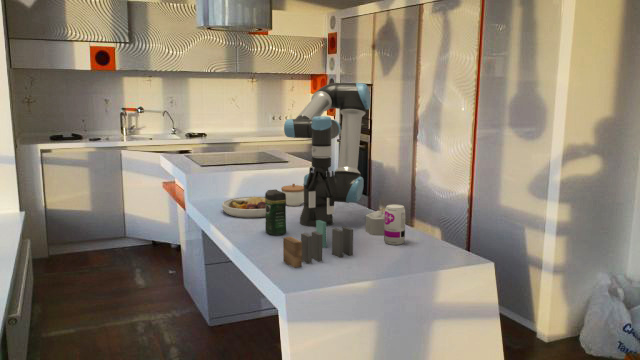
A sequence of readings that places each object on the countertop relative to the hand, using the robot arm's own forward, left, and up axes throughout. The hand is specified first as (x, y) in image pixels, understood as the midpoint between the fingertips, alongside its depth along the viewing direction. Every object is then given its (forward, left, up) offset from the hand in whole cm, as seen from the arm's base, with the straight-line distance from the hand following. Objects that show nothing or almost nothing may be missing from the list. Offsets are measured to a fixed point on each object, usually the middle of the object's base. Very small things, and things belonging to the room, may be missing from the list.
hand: (321, 210), depth 238 cm
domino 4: (+1, +14, -14) cm, 20 cm away
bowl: (-3, -68, -15) cm, 70 cm away
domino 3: (+10, +14, -14) cm, 22 cm away
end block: (+21, +14, -14) cm, 29 cm away
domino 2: (0, 0, -14) cm, 14 cm away
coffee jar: (+6, -27, -15) cm, 31 cm away
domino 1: (+15, +14, -14) cm, 25 cm away
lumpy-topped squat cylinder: (-34, -5, -15) cm, 38 cm away
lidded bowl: (-28, -72, -15) cm, 79 cm away
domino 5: (-3, +14, -14) cm, 20 cm away
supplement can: (-28, +11, -15) cm, 34 cm away
